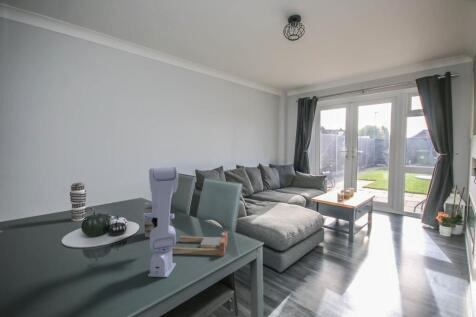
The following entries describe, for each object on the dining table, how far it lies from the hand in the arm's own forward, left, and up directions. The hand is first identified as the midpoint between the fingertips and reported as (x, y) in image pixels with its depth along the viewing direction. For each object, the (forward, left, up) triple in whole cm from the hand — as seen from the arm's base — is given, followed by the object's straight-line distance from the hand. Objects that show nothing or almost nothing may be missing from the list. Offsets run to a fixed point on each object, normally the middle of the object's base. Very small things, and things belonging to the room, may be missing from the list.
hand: (159, 232), depth 104 cm
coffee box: (+20, +12, -10) cm, 25 cm away
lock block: (+6, -24, -10) cm, 27 cm away
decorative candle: (+41, +76, -10) cm, 87 cm away
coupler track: (+6, -18, -9) cm, 21 cm away
